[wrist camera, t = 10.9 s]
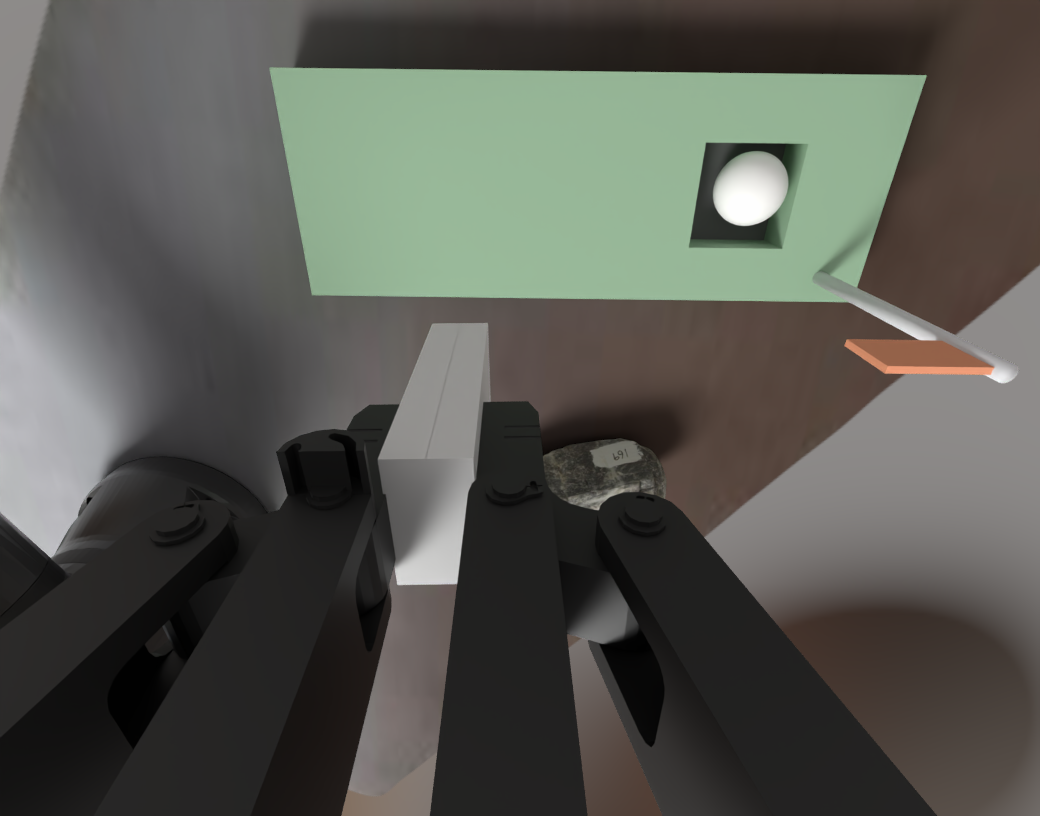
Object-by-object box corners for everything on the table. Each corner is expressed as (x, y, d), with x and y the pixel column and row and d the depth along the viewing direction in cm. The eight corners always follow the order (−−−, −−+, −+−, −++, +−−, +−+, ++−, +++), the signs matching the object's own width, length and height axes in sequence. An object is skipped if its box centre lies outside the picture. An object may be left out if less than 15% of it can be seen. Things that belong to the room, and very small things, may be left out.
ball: (783, 232, 29) (774, 220, 32) (801, 153, 27) (790, 149, 30) (708, 230, 30) (707, 218, 33) (720, 153, 28) (718, 149, 31)
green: (328, 282, 35) (181, 397, 20) (292, 72, 29) (48, 15, 14) (827, 288, 35) (1053, 409, 20) (890, 79, 29) (1275, 29, 14)
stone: (584, 384, 43) (666, 434, 35) (612, 441, 47) (691, 497, 39) (454, 489, 41) (509, 567, 33) (495, 538, 45) (553, 619, 37)
